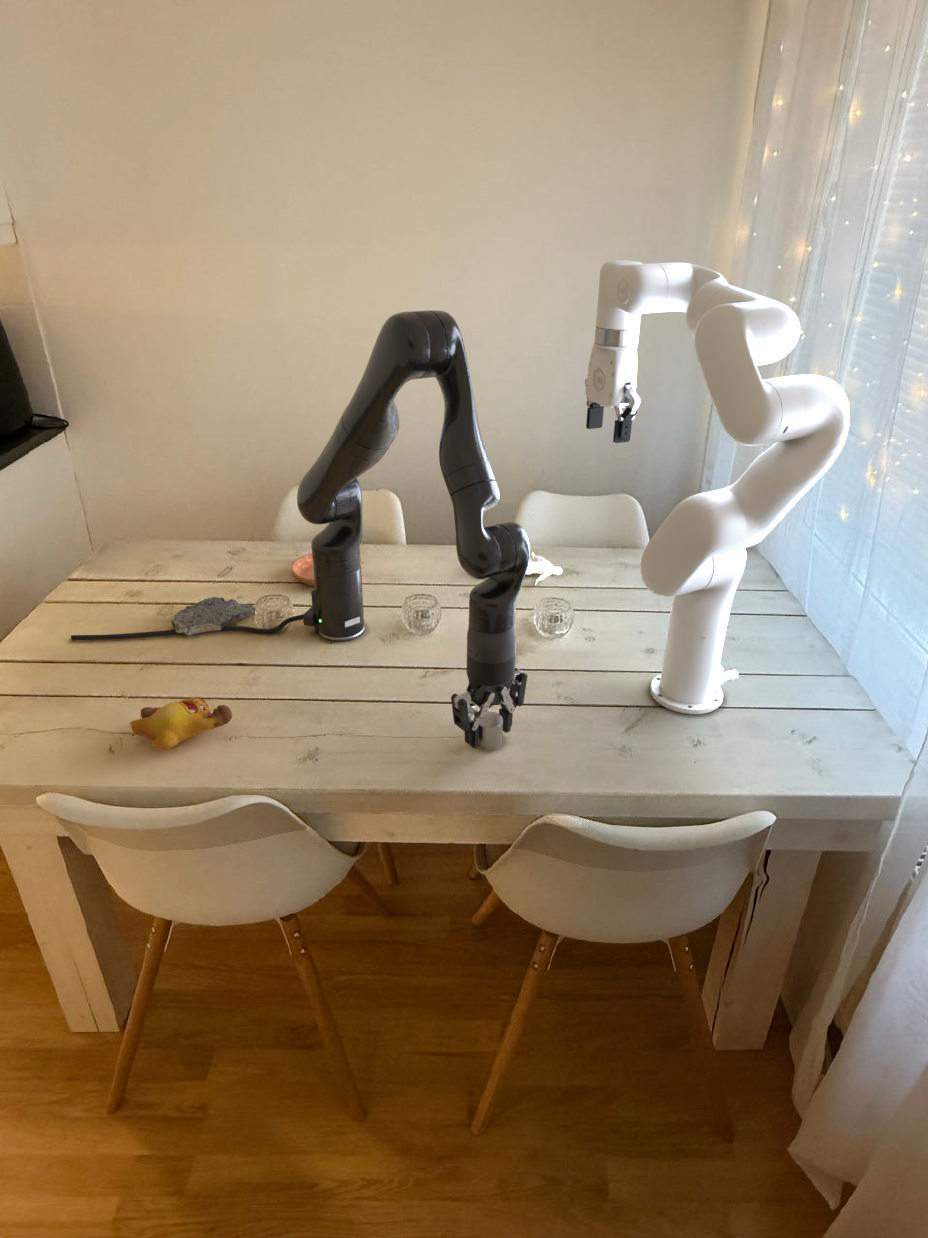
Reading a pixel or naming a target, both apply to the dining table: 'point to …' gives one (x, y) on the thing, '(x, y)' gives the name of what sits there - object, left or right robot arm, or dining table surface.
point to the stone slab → (210, 615)
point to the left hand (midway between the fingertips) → (488, 737)
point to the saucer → (304, 570)
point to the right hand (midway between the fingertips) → (607, 434)
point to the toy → (179, 721)
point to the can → (490, 731)
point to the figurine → (542, 568)
